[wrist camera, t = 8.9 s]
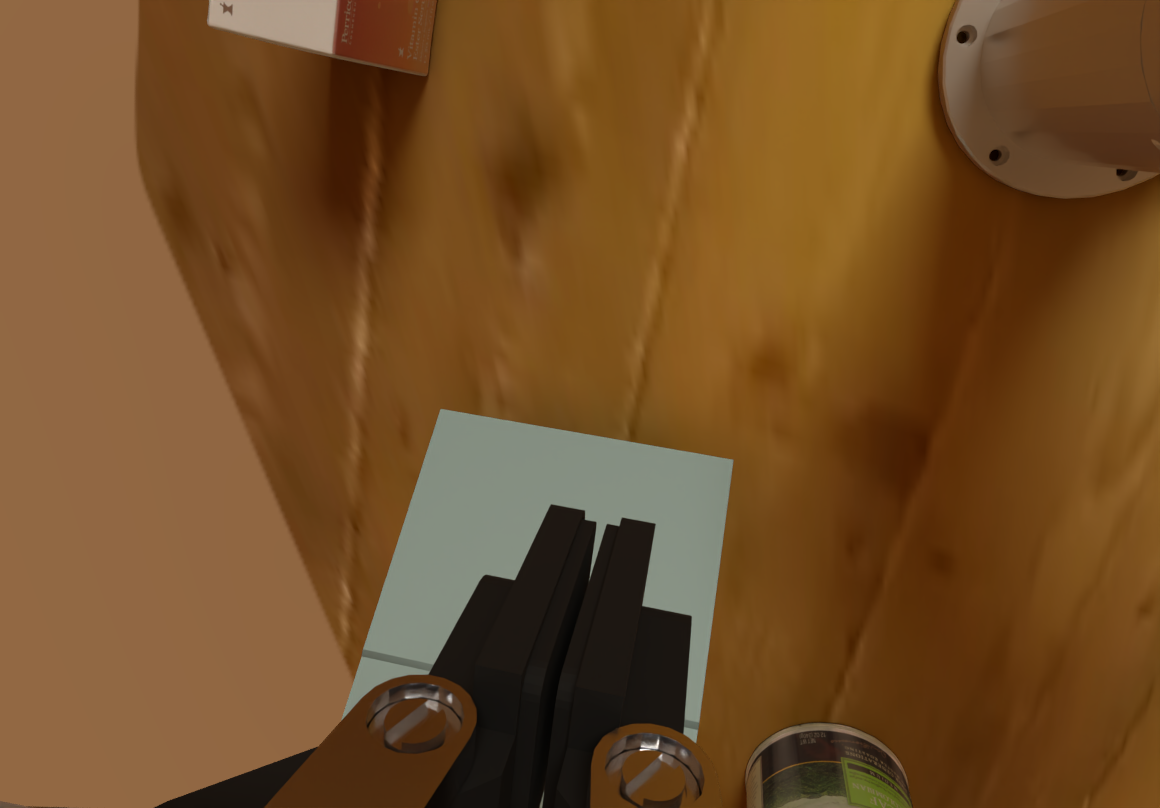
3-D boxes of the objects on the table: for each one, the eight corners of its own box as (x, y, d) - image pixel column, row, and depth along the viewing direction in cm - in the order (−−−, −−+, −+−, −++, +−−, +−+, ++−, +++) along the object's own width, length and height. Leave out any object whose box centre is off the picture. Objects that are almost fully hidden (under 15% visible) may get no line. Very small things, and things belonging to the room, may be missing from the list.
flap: (731, 465, 41) (733, 459, 41) (646, 1110, 29) (647, 1118, 29) (443, 415, 43) (440, 408, 43) (256, 999, 32) (248, 1004, 31)
